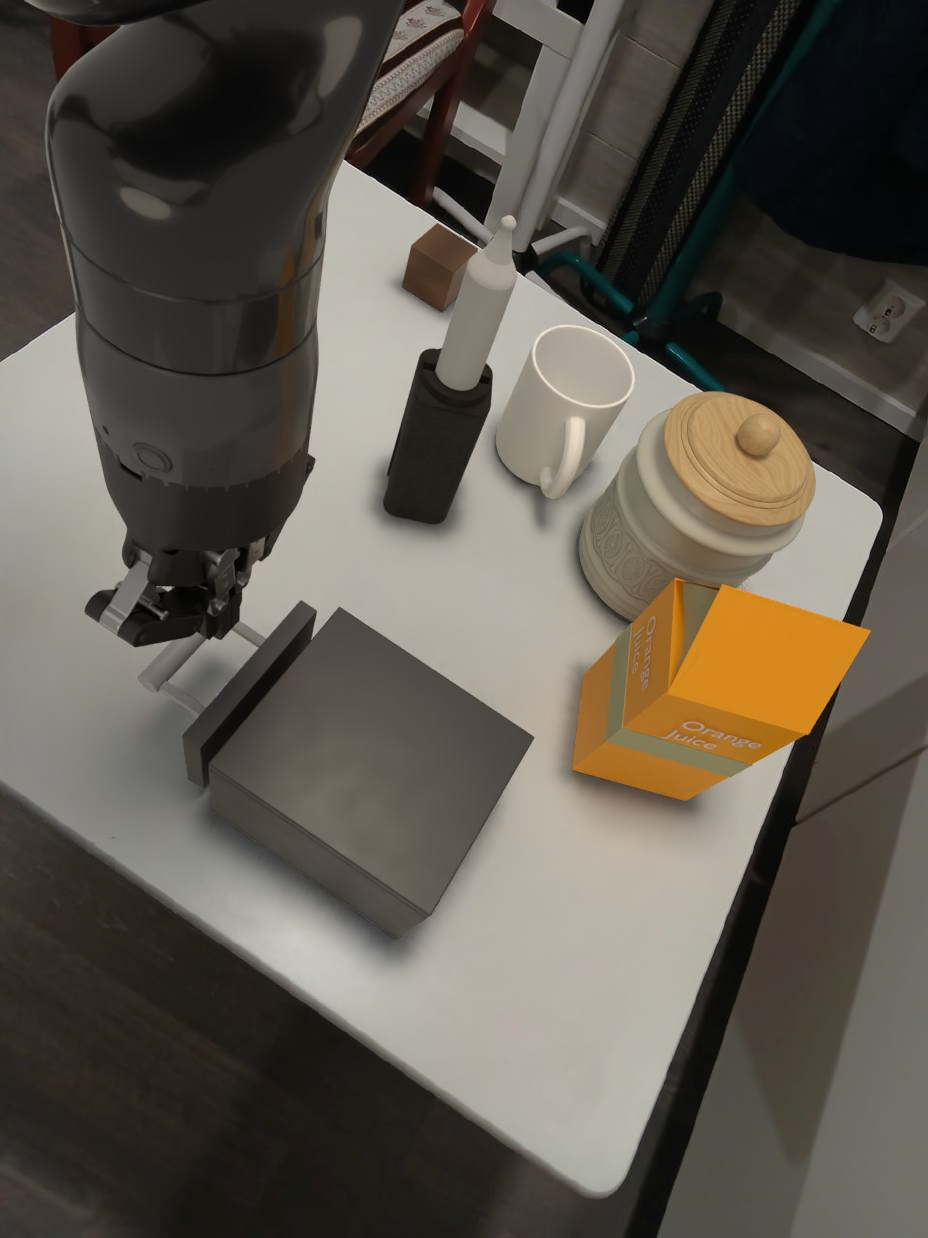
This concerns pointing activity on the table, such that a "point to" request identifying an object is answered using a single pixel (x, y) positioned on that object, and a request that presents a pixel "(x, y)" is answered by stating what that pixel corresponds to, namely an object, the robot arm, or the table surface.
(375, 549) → the table surface
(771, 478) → the jar
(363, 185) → the table surface
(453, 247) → the block
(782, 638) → the orange juice
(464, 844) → the fryer
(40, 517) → the table surface
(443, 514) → the candle
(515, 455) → the mug
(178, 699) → the basket
